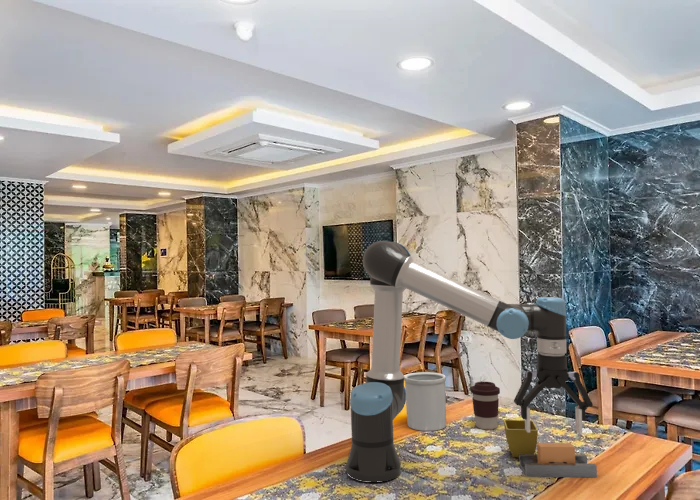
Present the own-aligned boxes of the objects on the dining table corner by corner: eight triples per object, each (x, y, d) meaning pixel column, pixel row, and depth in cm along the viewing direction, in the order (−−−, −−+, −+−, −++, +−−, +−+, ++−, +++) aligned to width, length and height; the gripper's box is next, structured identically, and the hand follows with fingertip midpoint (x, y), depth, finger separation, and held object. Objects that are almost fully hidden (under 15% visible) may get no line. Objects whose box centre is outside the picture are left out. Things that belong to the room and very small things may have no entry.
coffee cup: (504, 430, 168) (503, 386, 169) (475, 431, 168) (474, 387, 169) (496, 421, 178) (495, 379, 179) (469, 422, 178) (467, 380, 179)
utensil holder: (401, 420, 183) (400, 372, 184) (440, 417, 185) (439, 370, 186) (410, 433, 169) (409, 381, 169) (453, 430, 170) (451, 379, 171)
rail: (526, 476, 132) (526, 465, 132) (519, 464, 140) (518, 453, 140) (597, 477, 130) (596, 465, 130) (585, 465, 138) (585, 454, 138)
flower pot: (539, 461, 141) (538, 429, 142) (507, 460, 143) (506, 428, 144) (534, 450, 150) (533, 420, 150) (504, 449, 152) (503, 419, 152)
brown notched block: (541, 473, 134) (540, 446, 134) (538, 468, 137) (536, 442, 137) (575, 473, 133) (574, 446, 133) (571, 468, 136) (570, 442, 136)
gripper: (508, 355, 133) (509, 435, 133) (604, 356, 131) (606, 437, 130) (502, 350, 141) (503, 425, 140) (593, 351, 139) (595, 428, 138)
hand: (553, 431), depth 135 cm, fingers open, 13 cm apart
